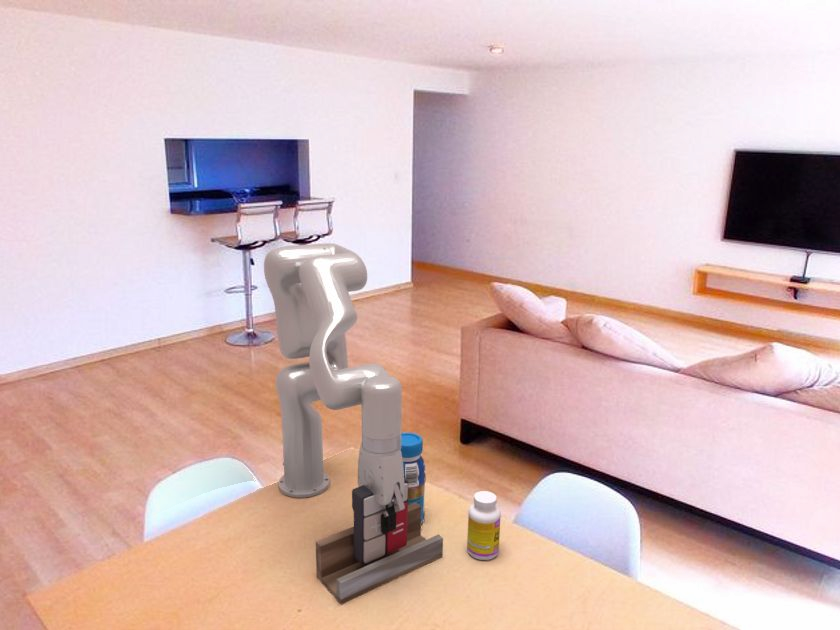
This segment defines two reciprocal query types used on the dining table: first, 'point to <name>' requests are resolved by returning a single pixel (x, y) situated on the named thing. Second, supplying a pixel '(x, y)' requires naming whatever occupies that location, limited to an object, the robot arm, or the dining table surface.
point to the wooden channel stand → (355, 578)
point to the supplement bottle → (483, 526)
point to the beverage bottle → (414, 468)
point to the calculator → (376, 526)
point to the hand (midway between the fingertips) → (382, 525)
